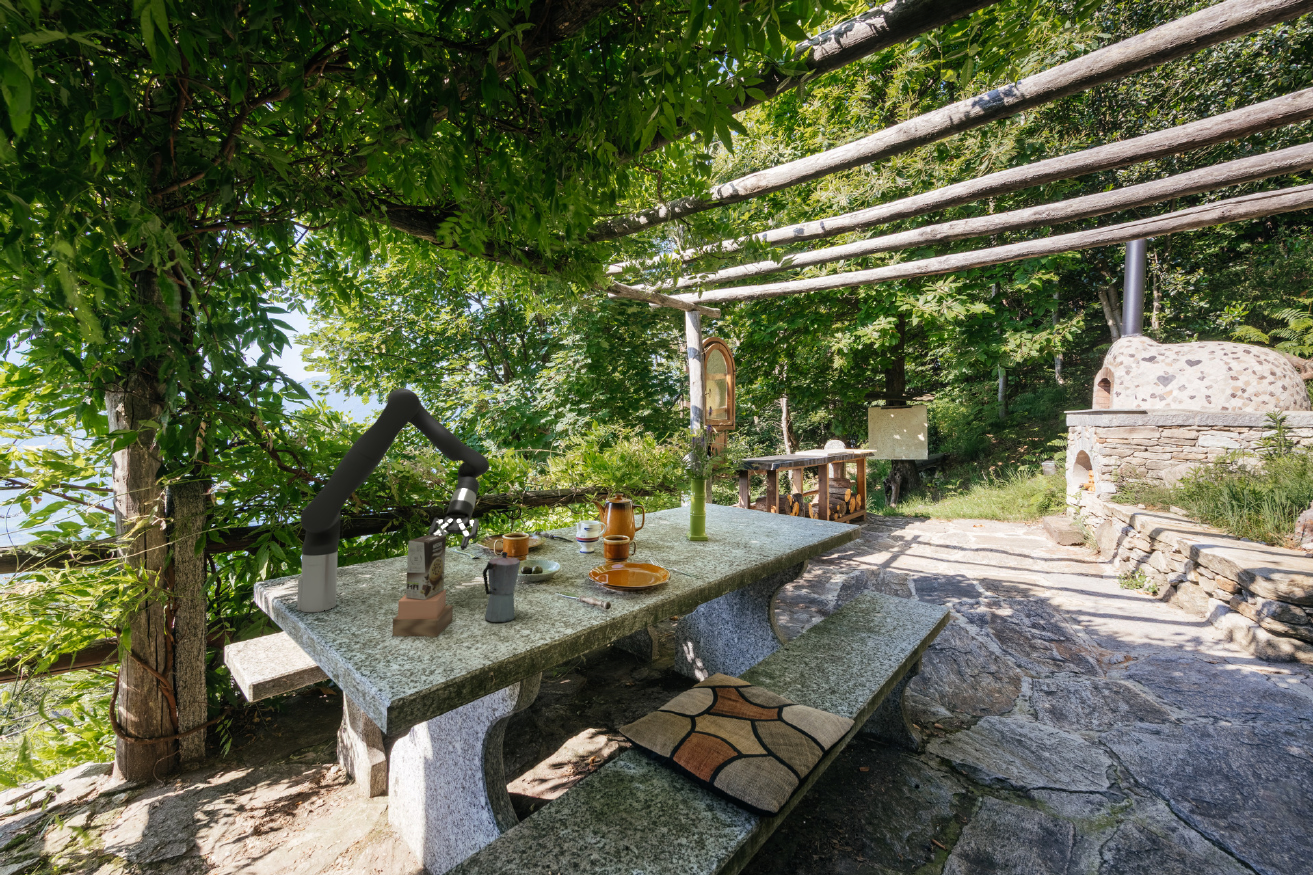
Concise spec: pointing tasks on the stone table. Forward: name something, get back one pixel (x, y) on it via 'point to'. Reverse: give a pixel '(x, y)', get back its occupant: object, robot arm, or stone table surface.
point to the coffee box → (425, 567)
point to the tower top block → (421, 607)
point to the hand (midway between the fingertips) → (448, 548)
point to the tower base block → (423, 625)
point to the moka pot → (501, 588)
